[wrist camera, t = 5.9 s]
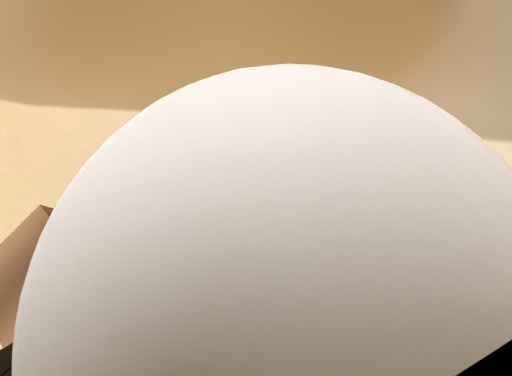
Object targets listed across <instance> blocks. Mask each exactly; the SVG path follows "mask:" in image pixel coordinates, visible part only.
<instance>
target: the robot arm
mask: <svg viewBox="0 0 512 376" xmlns="http://www.w3.org/2000/svg"><path fill="white" fill-rule="evenodd" d="M12 349H13V342H12V343H11V344H9V345H7V346H6V347H4V348H3V349H1V350H0V376H12Z"/></svg>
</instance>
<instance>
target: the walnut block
mask: <svg viewBox="0 0 512 376" xmlns="http://www.w3.org/2000/svg"><path fill="white" fill-rule="evenodd" d="M52 211H53V208H49V207H46V206H42V205H39V206H38V207H37V208H36V209H35V210H34V211H33V212H32V213H31V214H30V215H29V216H28V217H27V218H26V219H25V220H24V221H23V222H22V223H21V224H20V225H19V226H18V227H17V228H16V229H15V230H14V231H13V232H12V233H11V234H10V235H9V236H8V237H7V238H6V239H5V240H4V241H3V242H2V243H1V244H0V343H1V345H2V347H3V348H4V347H6V346H7V345H9V344H11V343H12V342H13V339H14V330H15V323H16V317H17V312H18V306H19V300H20V295H21V292H22V289H23V285H24V282H25V279H26V275H27V272H28V269H29V266H30V262H31V259H32V257H33V254H34V251H35V249H36V246H37V243H38V240H39V238H40V235H41V233H42V231H43V229H44V227H45V225H46V223H47V221H48V219H49V217H50V215H51V213H52Z"/></svg>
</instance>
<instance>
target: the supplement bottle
mask: <svg viewBox="0 0 512 376" xmlns="http://www.w3.org/2000/svg"><path fill="white" fill-rule="evenodd" d="M12 376H512V168H511V167H510V166H509V165H508V164H507V163H506V162H505V161H504V160H503V159H502V158H501V157H500V156H499V155H498V153H497V152H496V151H494V150H493V149H492V148H491V147H490V146H489V145H488V144H487V143H486V142H485V141H484V140H482V139H481V138H480V137H479V136H478V135H477V134H475V133H474V132H472V131H471V130H470V129H469V128H468V127H466V126H465V125H464V124H462V123H461V122H460V121H459V120H458V119H457V118H455V117H454V116H452V115H451V114H449V113H447V112H446V111H444V110H443V109H441V108H439V107H438V106H436V105H435V104H433V103H432V102H430V101H428V100H427V99H425V98H423V97H421V96H419V95H416V94H414V93H412V92H410V91H408V90H406V89H403V88H401V87H399V86H397V85H395V84H392V83H389V82H386V81H383V80H380V79H377V78H374V77H371V76H369V75H366V74H363V73H358V72H353V71H348V70H343V69H337V68H331V67H325V66H319V65H304V64H280V65H269V66H261V67H251V68H241V69H236V70H232V71H229V72H226V73H222V74H218V75H215V76H212V77H209V78H206V79H204V80H201V81H198V82H195V83H192V84H190V85H188V86H185V87H183V88H181V89H179V90H177V91H175V92H173V93H171V94H169V95H167V96H165V97H163V98H161V99H160V100H158V101H156V102H155V103H153V104H151V105H150V106H148V107H147V108H146V109H144V110H143V111H141V112H140V113H139V114H137V115H136V116H134V117H133V118H132V119H131V120H130V121H128V122H127V123H126V124H125V125H123V126H122V127H121V128H120V129H119V130H117V131H116V132H115V133H114V134H113V135H112V136H111V137H109V138H108V139H107V140H106V141H105V142H104V143H103V144H102V145H101V146H100V148H99V149H98V150H97V151H96V152H95V153H94V154H93V155H92V156H91V157H90V158H89V159H88V160H87V161H86V162H85V164H84V165H83V166H82V168H81V169H80V170H79V172H78V173H77V175H76V176H75V177H74V179H73V180H72V181H71V183H70V184H69V185H68V187H67V188H66V190H65V191H64V192H63V194H62V196H61V197H60V199H59V201H58V203H57V204H56V206H55V208H54V209H53V211H52V213H51V215H50V217H49V219H48V221H47V223H46V225H45V227H44V229H43V231H42V233H41V235H40V238H39V240H38V243H37V246H36V249H35V251H34V254H33V257H32V259H31V262H30V266H29V269H28V272H27V275H26V279H25V282H24V285H23V289H22V292H21V295H20V300H19V306H18V312H17V317H16V323H15V330H14V339H13V349H12Z"/></svg>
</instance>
